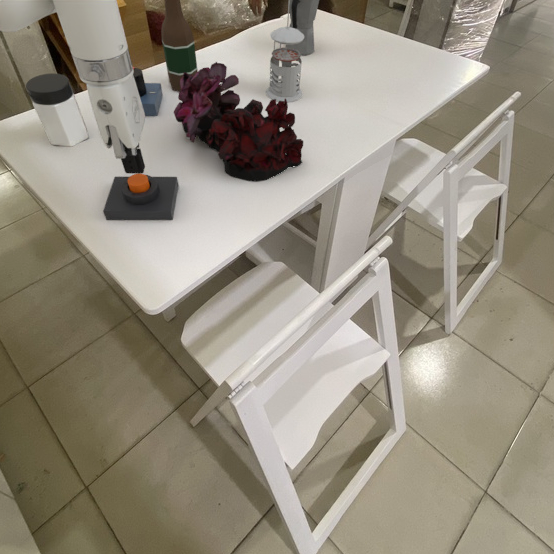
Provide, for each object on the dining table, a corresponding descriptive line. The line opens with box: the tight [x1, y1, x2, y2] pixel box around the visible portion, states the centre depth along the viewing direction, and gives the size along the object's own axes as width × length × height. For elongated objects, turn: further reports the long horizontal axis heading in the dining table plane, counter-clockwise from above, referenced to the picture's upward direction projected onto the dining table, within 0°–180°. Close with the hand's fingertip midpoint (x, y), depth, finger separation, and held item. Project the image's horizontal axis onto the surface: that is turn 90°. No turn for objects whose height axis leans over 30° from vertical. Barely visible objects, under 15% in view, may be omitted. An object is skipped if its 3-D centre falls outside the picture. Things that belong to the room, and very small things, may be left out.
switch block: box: [102, 174, 179, 221], centre depth 75 cm, size 12×10×4 cm
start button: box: [128, 173, 150, 193], centre depth 73 cm, size 4×4×2 cm
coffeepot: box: [287, 0, 320, 57], centre depth 114 cm, size 15×9×18 cm, turn 159°
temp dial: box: [132, 65, 147, 97], centre depth 94 cm, size 5×5×5 cm
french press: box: [265, 0, 304, 103], centre depth 96 cm, size 10×12×25 cm
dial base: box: [140, 82, 164, 117], centre depth 97 cm, size 12×10×3 cm
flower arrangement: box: [173, 61, 304, 182], centre depth 83 cm, size 31×20×15 cm, turn 50°
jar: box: [25, 73, 90, 147], centre depth 84 cm, size 9×8×12 cm
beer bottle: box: [160, 0, 199, 93], centre depth 96 cm, size 8×8×24 cm
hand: (135, 170), depth 71 cm, fingers closed
